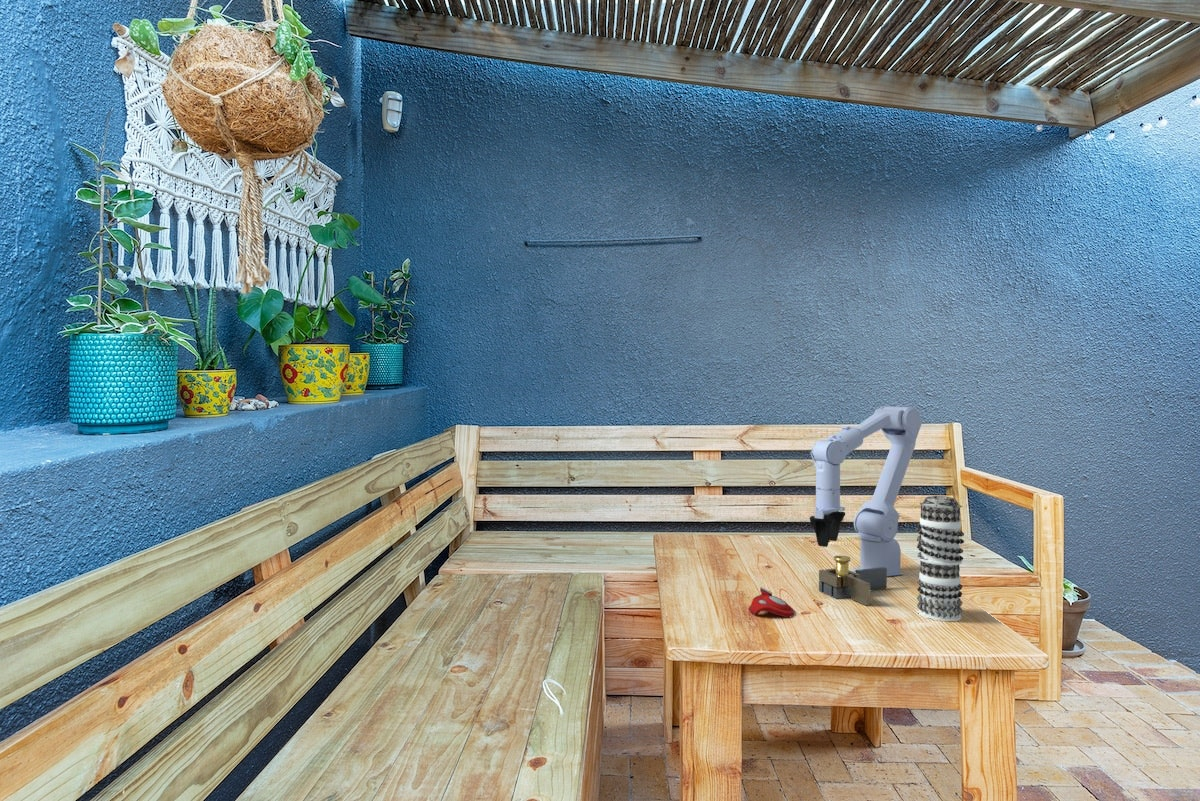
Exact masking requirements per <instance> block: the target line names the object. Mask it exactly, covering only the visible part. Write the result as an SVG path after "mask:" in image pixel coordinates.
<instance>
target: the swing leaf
mask: <svg viewBox="0 0 1200 801" xmlns="http://www.w3.org/2000/svg"><path fill="white" fill-rule="evenodd" d="M818 581H822V582H824V583H827V584H829V585H831V586H834V587H836V588H838V587H841V586H842V587H849V588H851V597H850V598H851V599H852V600H853V601H856V602H857V603H860V604H862V605H865V606H871V591H870V583H868V582H865V581H863V580H861V575H860V574H858V573H856V571H853V570H849V574H846V575H840V576H838V575H836V567H835V568H826V569H818Z"/></svg>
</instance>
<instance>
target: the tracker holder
mask: <svg viewBox="0 0 1200 801" xmlns="http://www.w3.org/2000/svg"><path fill="white" fill-rule="evenodd" d="M759 589H760V590H759V592H760V594H759V595H756V596H755V597H753V598H752V601H751V603H750V605H749V607H748V609H747V610H748V611H749V612H750V613H751V614H753V615H754V616H756V615H758V614H759V613H760V612H768V613H771V614H774V615H777V616H781V617H784V618H790V616H791V617H793V616H794V613H795V610H794V608H793V607H792V606H791V605H790V604H789V603H787V602H786V601H785V600H784V599H782V598H780V597H777V596H774V595H773V592H772V591H771V590H768V589H767V588H764V587H762V586H760V587H759Z"/></svg>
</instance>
